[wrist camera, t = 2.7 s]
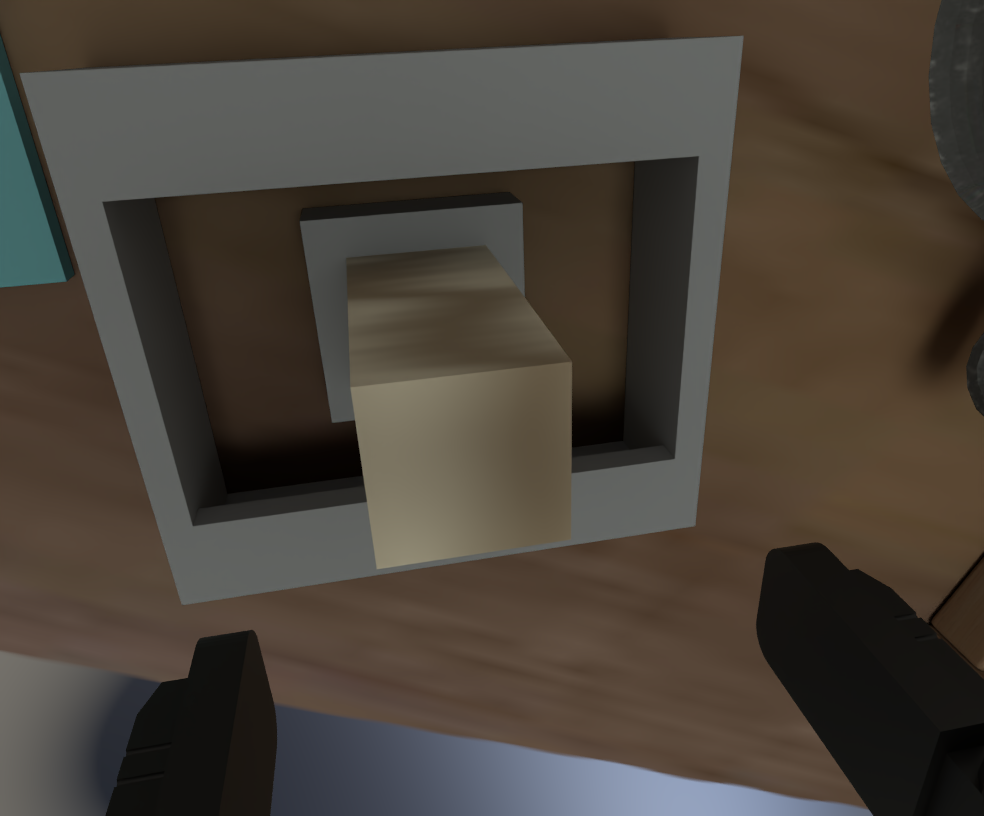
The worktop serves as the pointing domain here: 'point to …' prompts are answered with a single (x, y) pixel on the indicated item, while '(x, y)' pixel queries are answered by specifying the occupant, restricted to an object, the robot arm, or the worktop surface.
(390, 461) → the birch block
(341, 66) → the open gray rectangular frame
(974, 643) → the wooden block
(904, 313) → the worktop surface
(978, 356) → the tankard
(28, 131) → the mat
